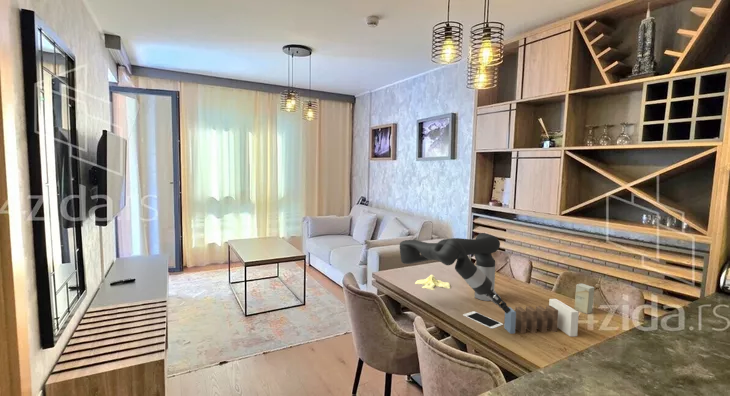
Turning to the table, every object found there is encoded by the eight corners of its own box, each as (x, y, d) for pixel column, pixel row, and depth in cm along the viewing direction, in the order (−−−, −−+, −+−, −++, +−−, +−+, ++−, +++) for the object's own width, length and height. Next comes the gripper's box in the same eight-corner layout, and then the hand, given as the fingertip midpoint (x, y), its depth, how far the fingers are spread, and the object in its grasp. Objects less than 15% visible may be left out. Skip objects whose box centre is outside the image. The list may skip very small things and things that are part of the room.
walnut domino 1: (521, 333, 141) (522, 311, 140) (514, 327, 146) (515, 306, 145) (525, 333, 141) (526, 311, 141) (519, 327, 146) (520, 306, 146)
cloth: (457, 288, 195) (457, 277, 195) (430, 293, 187) (430, 282, 187) (432, 276, 215) (432, 266, 215) (407, 281, 207) (407, 270, 206)
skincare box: (573, 309, 165) (575, 284, 164) (579, 307, 167) (580, 282, 166) (587, 314, 160) (589, 288, 159) (593, 312, 162) (594, 287, 161)
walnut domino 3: (542, 332, 142) (543, 310, 141) (534, 326, 147) (535, 306, 146) (546, 332, 142) (547, 310, 142) (539, 326, 147) (540, 305, 147)
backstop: (570, 336, 139) (571, 312, 138) (548, 321, 153) (549, 298, 152) (577, 336, 139) (578, 311, 138) (554, 320, 153) (555, 298, 152)
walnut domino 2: (531, 332, 142) (532, 311, 141) (524, 327, 147) (525, 306, 146) (536, 332, 142) (537, 311, 141) (529, 326, 147) (530, 306, 146)
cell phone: (473, 312, 163) (474, 310, 163) (503, 325, 149) (503, 324, 149) (462, 315, 158) (462, 314, 158) (492, 329, 145) (492, 328, 145)
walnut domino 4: (552, 331, 143) (553, 310, 142) (544, 326, 148) (545, 305, 147) (556, 331, 143) (558, 310, 142) (549, 326, 148) (550, 305, 147)
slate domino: (510, 333, 141) (511, 312, 140) (504, 327, 146) (505, 307, 145) (515, 333, 141) (516, 311, 140) (508, 327, 146) (509, 307, 145)
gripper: (463, 280, 146) (488, 306, 148) (478, 293, 132) (505, 321, 134) (476, 268, 146) (501, 294, 148) (492, 279, 132) (519, 307, 134)
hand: (503, 307), depth 141 cm, fingers open, 8 cm apart
